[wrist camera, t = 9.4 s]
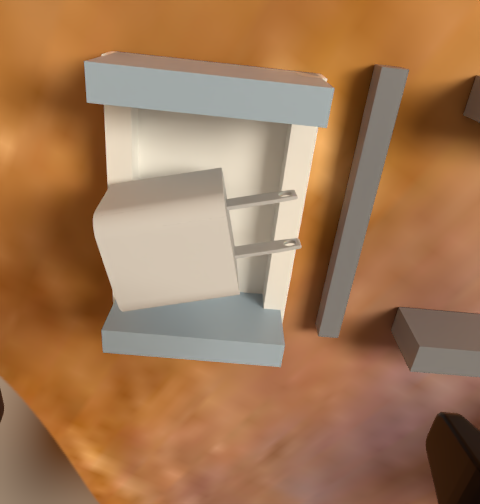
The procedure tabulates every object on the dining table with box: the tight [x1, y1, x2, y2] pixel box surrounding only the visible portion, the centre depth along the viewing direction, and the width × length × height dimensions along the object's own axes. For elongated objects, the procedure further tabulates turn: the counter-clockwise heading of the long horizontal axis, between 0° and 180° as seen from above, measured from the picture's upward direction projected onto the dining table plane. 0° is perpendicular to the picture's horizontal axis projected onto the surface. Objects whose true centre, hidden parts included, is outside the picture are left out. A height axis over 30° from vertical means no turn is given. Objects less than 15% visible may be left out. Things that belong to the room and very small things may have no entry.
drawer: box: [84, 51, 334, 367], centre depth 18 cm, size 11×8×4 cm
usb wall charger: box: [93, 168, 302, 312], centre depth 16 cm, size 4×7×4 cm, turn 98°
